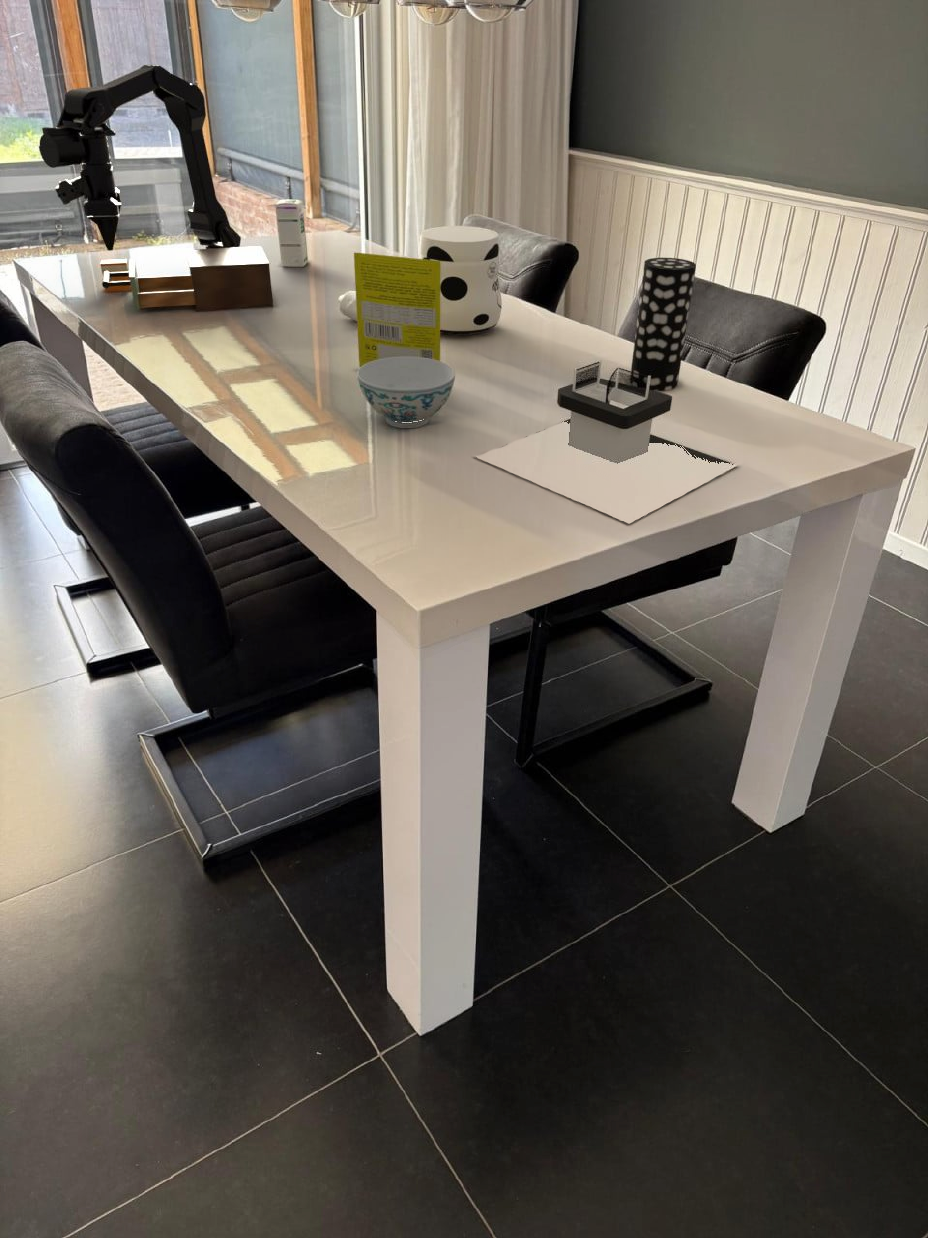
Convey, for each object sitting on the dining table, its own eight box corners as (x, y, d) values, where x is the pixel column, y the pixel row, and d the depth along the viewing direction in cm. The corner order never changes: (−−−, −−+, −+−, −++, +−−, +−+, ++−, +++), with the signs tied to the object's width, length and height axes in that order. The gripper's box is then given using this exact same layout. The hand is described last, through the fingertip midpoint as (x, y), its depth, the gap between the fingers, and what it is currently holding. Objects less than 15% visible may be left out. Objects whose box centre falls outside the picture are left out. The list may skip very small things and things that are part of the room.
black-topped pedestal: (739, 466, 129) (757, 375, 121) (628, 525, 113) (642, 426, 106) (587, 412, 145) (595, 329, 138) (473, 457, 130) (475, 367, 122)
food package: (441, 380, 156) (441, 260, 145) (438, 382, 155) (439, 261, 144) (360, 369, 160) (355, 251, 149) (358, 371, 159) (352, 252, 148)
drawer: (106, 311, 183) (99, 278, 180) (108, 291, 196) (101, 260, 192) (215, 304, 189) (210, 272, 185) (210, 285, 201) (206, 255, 198)
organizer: (196, 311, 189) (190, 266, 183) (193, 291, 201) (186, 249, 196) (273, 306, 192) (269, 262, 187) (265, 287, 205) (260, 246, 200)
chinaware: (419, 446, 133) (419, 396, 128) (339, 424, 139) (336, 376, 135) (472, 415, 143) (473, 368, 139) (396, 396, 150) (395, 350, 145)
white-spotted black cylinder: (648, 393, 153) (665, 271, 141) (620, 378, 159) (634, 260, 148) (687, 386, 156) (706, 266, 145) (657, 372, 162) (674, 255, 151)
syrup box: (304, 266, 222) (299, 203, 214) (280, 266, 222) (274, 202, 214) (308, 261, 227) (303, 199, 219) (285, 261, 227) (279, 198, 219)
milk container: (518, 328, 183) (522, 234, 172) (459, 346, 172) (461, 247, 162) (456, 311, 192) (457, 220, 182) (398, 327, 182) (395, 232, 172)
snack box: (105, 291, 200) (100, 263, 196) (106, 287, 203) (100, 260, 199) (131, 290, 201) (126, 262, 198) (132, 286, 204) (126, 258, 201)
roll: (355, 310, 191) (354, 283, 188) (384, 324, 183) (383, 296, 180) (330, 314, 188) (329, 287, 185) (359, 329, 180) (357, 300, 177)
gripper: (57, 156, 185) (73, 237, 193) (48, 169, 170) (66, 256, 178) (114, 156, 187) (127, 236, 196) (110, 169, 172) (125, 254, 181)
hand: (111, 245), depth 188 cm, fingers open, 9 cm apart
